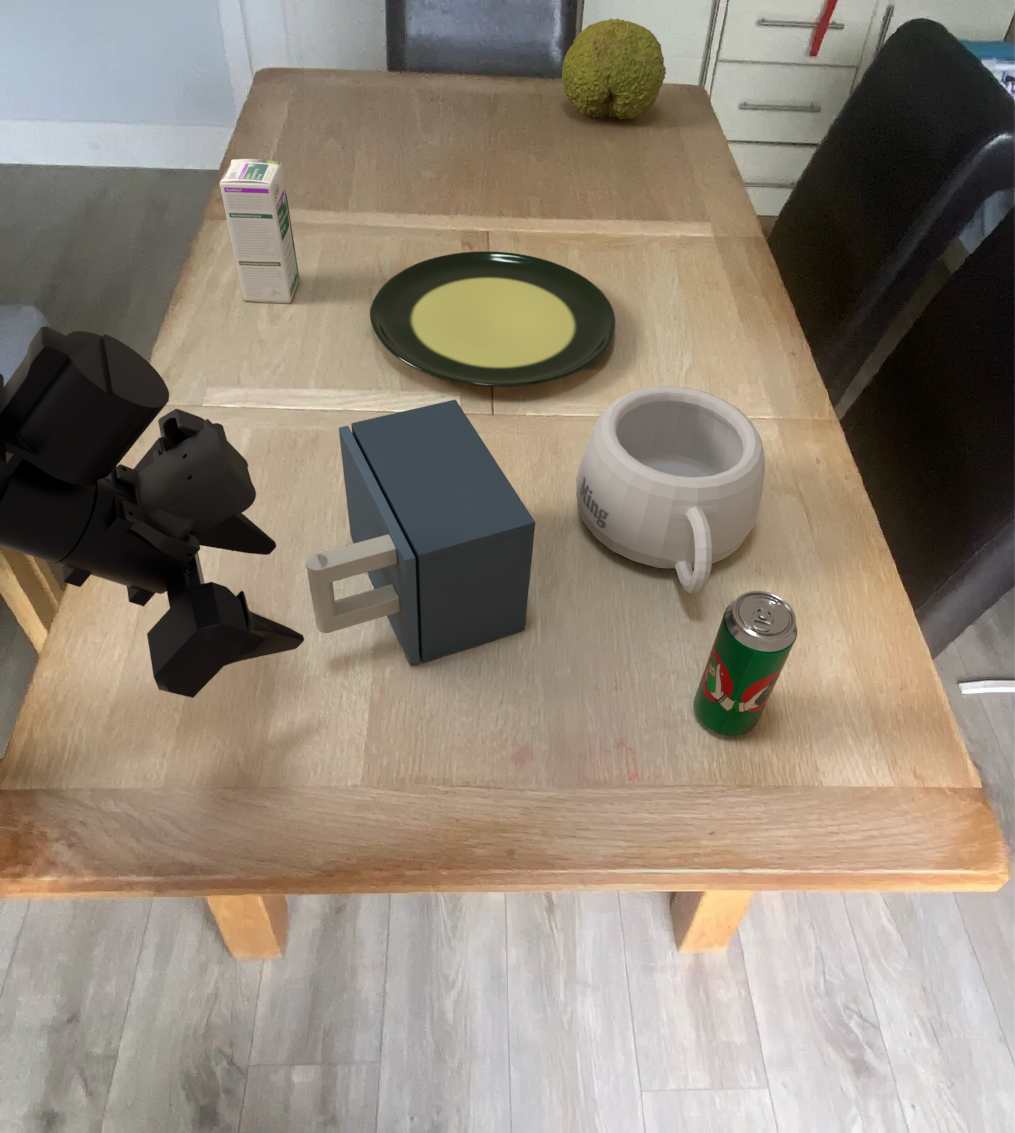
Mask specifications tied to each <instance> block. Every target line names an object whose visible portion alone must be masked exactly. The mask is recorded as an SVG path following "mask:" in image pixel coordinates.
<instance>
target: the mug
mask: <svg viewBox="0 0 1015 1133" xmlns="http://www.w3.org/2000/svg"><path fill="white" fill-rule="evenodd" d="M765 474H766V455H765V451H764V446H763V441H762V439H761V436H760V433H759V431H758V430H757V428H756V426H755V424H754V423H753V422H752V420H751V419H750V418H749V416H747V415H746V414H745V413H744V412H743V411H742V410H741V409H739V408H738V407H737V406H735V405H734V404H732V403H730V402H729V401H727V400H725V399H724V398H721V397H719V396H718V395H717V396H716V395H714V394H712V393H709V392H706V391H703V390H699V389H695V388H690V387H686V386H674V385H659V386H648V387H644V388H639V389H636V390H633V391H630V392H628V393H626V394H624V395H622V396H620V397H619V398H617V399H615V400H614V401H613V403H611V404H610V405H609V406H608V407H607V408H606V409H605V410H604V412H603V413H601V414H600V416H599V417H598V418H597V421H596V423H595V425H594V427H593V429H592V431H591V434H590V436H589V437H588V441H587V443H586V445H585V448H584V451H583V453H582V456H581V459H580V462H579V466H578V470H577V475H576V501H577V508H578V510H579V514H580V517H581V519H582V522H583V523H584V525H585V526H586V527H587V528H588V530H589V531H590V532H591V534H592V535H593V537H594V538H595V539H597V540H598V541H599V542H600V543H602V544H603V545H604V546H605V547H607V548H608V549H609V550H610V551H612V552H613V553H615V554H618V555H620V556H622V557H624V558H626V559H629V561H630V560H631V561H633V562H635V563H639V564H643V565H646V566H651V567H654V568H661V569H675V571H676V574H677V577H678V580H679V582H680V585H681V587H682V588H683V590H684V591H685V592H687V593H690V594H691V595H698V594H700V593H702V592H704V591H705V589H706V587H707V585H708V583H709V580H710V575H711V572H712V564H714V563H717V562H720V561H722V560H724V559H726V558H727V557H729V556H730V555H731V554H733V553H734V552H735V551H737V550H738V549H739V548H740V547H741V546H742V544H743V542H744V541H745V539H746V538H747V537H748V535H749V534H750V532H751V531H752V529H753V528H754V526H755V525H756V521H757V518H758V514H759V509H760V506H761V502H762V495H763V490H764V484H765Z"/></svg>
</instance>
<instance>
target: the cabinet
mask: <svg viewBox="0 0 1015 1133" xmlns="http://www.w3.org/2000/svg"><path fill="white" fill-rule="evenodd" d="M350 425H351V426H350V427H351V432H352V434H353V436H354V438H355V440H356V442H357V444H358V446H359V448H360V450H361V452H362V454H363V456H364V458H365V460H366V462H367V464H368V466H369V468H370V470H371V472H372V473H373V475H374V477H375V479H376V481H377V483H378V485H379V487H380V489H381V491H382V493H383V495H384V497H385V499H386V501H387V503H388V505H389V507H390V509H391V511H392V513H393V515H394V517H395V519H396V521H397V523H398V525H399V526H400V528H401V530H402V532H403V534H404V536H405V538H406V540H407V542H408V544H409V546H410V548H411V550H412V552H413V554H414V556H415V562H416V588H417V614H418V640H419V660H421V662H422V664H425V663H427V662H428V663H429V662H431V661H434V660H437V659H440V658H444V657H446V656H450V655H453V654H456V653H458V652H463V651H465V650H468V649H472V648H474V647H477V646H480V645H481V646H482V645H485V644H487V643H490V642H493V641H496V640H499V639H502V638H506V637H508V636H513V635H515V634H518V633H522V632H524V631H525V630H526V621H527V612H528V601H529V594H530V583H531V574H532V573H531V571H532V561H533V553H534V552H533V551H534V541H535V531H536V521H535V519H534V518H533V516H532V514H531V513H530V511H529V510H528V508H527V507H526V505H525V504H524V502H523V500H522V499H521V498H520V496H519V495H518V493H517V492H516V490H515V488H514V486H513V485H512V483H511V482H510V481H509V479H508V478H507V476H506V474H505V473H504V472H503V469H502V468H501V467H500V465H499V463H498V462H497V461H496V458H494V456H493V455H492V453H491V452H490V450H489V448H488V446H487V445H486V444H485V442H484V441H483V439H482V438H481V436H480V434H479V433H478V432H477V430H476V428H475V427H474V425H473V424H472V422H471V421H470V419H469V417H468V416H467V414H466V413H465V411H464V410H463V409H462V407H461V405H460V404H459V402H458V401H457V399H451V400H447V401H446V400H445V401H442V402H438V403H433V404H429V405H425V406H420V407H416V408H412V409H411V408H410V409H408V410H403V411H398V412H395V413H394V412H393V413H390V414H385V415H381V416H376V417H371V418H368V419H364V420H363V419H362V420H359V421H354V422H351V423H350Z"/></svg>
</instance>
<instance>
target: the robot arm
mask: <svg viewBox="0 0 1015 1133" xmlns="http://www.w3.org/2000/svg"><path fill="white" fill-rule="evenodd" d="M169 401H170V392H169V388H168V386H167V384H166V382H165V380H164V378H163V377H162V376H161V374H160V373H159V372H158V371H157V369H156V368H155V367H153V365H152V364H151V363H150V362H149V361H148V360H147V359H146V358H144V357H143V355H141V354H139V353H138V352H137V351H136V350H135V349H133V348H132V347H130V346H129V345H127V344H125V343H124V342H122V341H120V340H119V339H117V338H116V337H113V336H112V335H109V334H107V333H103V334H102V335H100V334H98V333H94V332H91V331H85V330H74V331H72V332H69V333H67V334H66V335H65V333H61V332H59V331H58V330H56V329H54V328H52V327H50V326H47V325H45V326H41V327H40V328H39V329H38V331H37V332H36V334H35V335H34V336H33V338H32V339H31V341H30V342H29V344H28V348H27V351H26V353H25V355H24V358H23V360H22V361H21V362H20V364H18V366H17V367H16V369H15V371H14V372H13V373H12V374H11V376H10V377H9V379H8V380H7V382H6V383H5V378H4V375H3V374H2V373H0V547H2V548H5V549H8V550H10V551H11V550H12V551H15V552H19V553H21V554H24V555H27V556H30V557H34V558H37V559H41V560H44V561H47V562H50V563H52V564H55V565H58V566H62V578H63V583H66V584H69V585H71V586H75V587H78V588H81V587H82V586H83V585H84V583H85V582H86V581H87V580H88V579H89V578H90V577H91V576H93V577H97V578H99V579H102V580H105V581H109V582H112V583H115V584H119V585H122V586H125V587H126V590H127V592H126V593H127V599H128V603H130V604H134V605H138V606H141V607H146V605H147V604H148V602H150V600H151V599H152V598H153V597H154V596H155V595H156V594H159V595H162V594H165V593H166V596H167V601H168V606H169V608H168V610H167V611H166V612H165V613H164V614H163V615H162V616H161V617H160V618H159V619H158V621H157V622H156V623H155V624H154V625H153V626H152V628H150V629H149V630H148V632H147V633H146V636H147V643H148V650H149V656H150V662H151V669H152V676H153V679H154V682H155V684H156V686H157V689H158V691H163V692H166V693H169V694H175V695H179V696H184V697H187V698H191V699H194V698H195V697H196V696H197V695H198V694H199V693H200V691H202V689H204V687H206V685H208V684H209V682H210V681H211V680H212V679H213V678H214V677H215V676H216V675H217V674H218V673H219V672H220V671H221V670H222V669H223V668H224V667H226V666H230V665H232V664H235V663H238V662H243V661H247V660H251V659H255V658H256V659H257V658H260V657H265V656H271V655H274V654H280V653H284V652H288V651H294V650H296V649H297V648H299V647H300V646H301V645H302V644H303V643H304V642H305V637H304V635H303V634H301V633H300V632H298V631H297V630H294V629H292V628H291V627H288V626H286V625H285V624H282V623H280V622H277V621H274V620H271V619H269V618H267V617H265V616H262V615H260V614H258V613H256V612H254V611H252V610H251V611H250V609H249V605H248V601H247V597H246V594H245V592H244V591H243V590H240V591H239V592H238V593H237V595H236V594H234V592H233V591H232V590H231V589H229V587H228V586H226V585H222V584H220V583H216V582H214V581H209V582H205V579H204V573H203V569H202V565H201V561H200V560H201V559H200V555H199V551H200V550H201V547H207V548H214V549H220V550H224V551H232V552H237V553H244V554H249V555H262V556H263V555H265V556H269V555H271V553H272V552H274V550H275V549H276V548H277V543H276V541H275V540H274V539H273V538H272V537H270V536H269V535H268V534H267V532H264V531H263V530H262V529H261V528H260V527H259V526H258V525H256V523H254V522H253V521H252V520H251V519H250V518H249V517H247V516H246V515H245V514H243V513H244V512H246V511H247V510H248V509H250V507H251V506H252V505H253V504H254V502H255V500H256V498H257V491H256V487H255V485H254V484H253V482H252V481H253V480H252V478H251V475H250V471H249V464H248V461H247V459H246V458H245V457H244V456H243V455H242V454H241V453H240V452H239V451H238V450H237V449H236V448H235V446H233V444H231V442H229V441H228V438H227V435H226V431H225V428H224V425H223V424H221V423H218V422H214V423H213V422H211V420H210V419H208V418H206V419H205V418H203V417H202V416H198V415H197V414H196V415H195V414H193V413H190V412H188V411H185V410H182V409H179V408H175V409H173V410H171V411H169V412H168V413H166V414H165V415H162V416H161V417H160V418H158V420H157V422H158V428H159V433H160V436H159V437H158V438H157V439H156V440H155V442H154V443H153V444H152V445H151V447H150V448H149V449H148V450H147V451H146V453H145V454H144V455H143V457H142V458H141V459H139V461H138V462H137V464H136V465H135V467H133V468H132V467H129V466H127V465H124V464H121V463H120V462H121V461H122V460H123V459H124V457H125V456H126V455H127V454H128V452H129V451H130V450H131V448H132V447H133V446H134V445H135V444H136V442H137V441H138V440H139V439H140V437H141V436H142V435H143V434H144V433H145V431H146V430H147V429H148V427H149V426H150V425H151V424H152V422H153V421H154V420H155V419H156V417H157V416H159V414H160V413H161V411H162V410H163V409H164V408H165V406H166V405H167V404H168V403H169Z"/></svg>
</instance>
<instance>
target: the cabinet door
mask: <svg viewBox="0 0 1015 1133" xmlns="http://www.w3.org/2000/svg"><path fill="white" fill-rule="evenodd" d="M338 435H339V436H338V437H339V443H340V444H339V445H340V453H341V461H342V462H341V463H342V470H343V471H342V472H343V480H344V489H345V497H346V507H347V515H348V524H349V534H350V537H351V540H352V542H353V543H352V544H348V545H344V546H340V547H337V548H333V549H329V550H325V551H321V552H318V553H315V554H312V555H310V556H309V557H308V558H306V561H305V566H306V574H307V578H308V584H309V585H308V586H309V589H310V596H311V602H312V607H313V612H314V619H315V625H316V629H317V630H318V631H319V632H321V633H323V634H329V633H333V632H337V631H340V630H344V629H346V628H350V627H353V626H356V625H360V624H363V623H367V622H370V621H373V620H376V619H380V618H383V617H387V619H388V621H389V623H390V625H391V628H392V630H393V632H394V634H395V636H396V638H397V641H398V643H399V645H400V647H401V650H402V652H403V654H404V656H405V659H406V660H407V662H408V665H409V666H410V667H412V666H415V665H418V664H420V656H419V640H418V614H417V588H416V562H415V556H414V554H413V552H412V550H411V548H410V546H409V544H408V542H407V540H406V538H405V536H404V534H403V532H402V530H401V528H400V526H399V525H398V523H397V521H396V519H395V517H394V515H393V513H392V511H391V509H390V507H389V505H388V503H387V501H386V499H385V497H384V495H383V493H382V491H381V489H380V487H379V485H378V483H377V481H376V479H375V477H374V475H373V473H372V472H371V470H370V468H369V466H368V464H367V462H366V460H365V458H364V456H363V454H362V452H361V450H360V448H359V446H358V444H357V442H356V440H355V438H354V436H353V434H352V429H350V427H349V425H344V426H340V427H339V426H338ZM365 573H367V575H368V577H369V579H370V581H371V584H372V586H373V589H371V590H367V591H363V592H360V593H356V594H353V595H349V596H347V597H343V598H340V599H336V598H335V592H334V591H335V590H334V584H333V582H337V581H340V580H344V579H347V578H352V577H354V576H358V575H361V574H365Z"/></svg>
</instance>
